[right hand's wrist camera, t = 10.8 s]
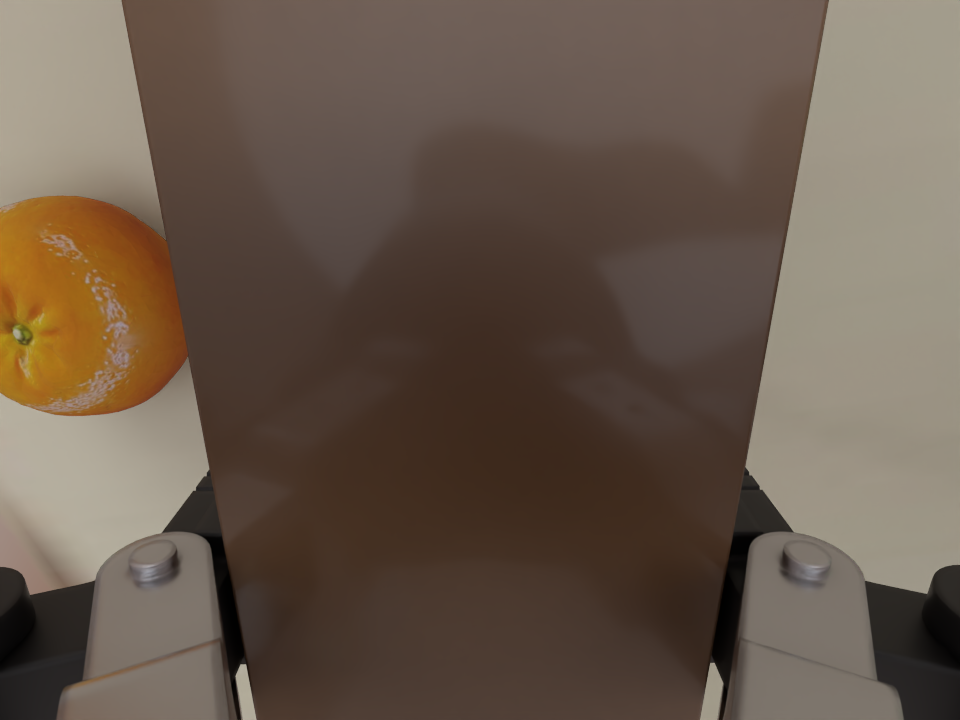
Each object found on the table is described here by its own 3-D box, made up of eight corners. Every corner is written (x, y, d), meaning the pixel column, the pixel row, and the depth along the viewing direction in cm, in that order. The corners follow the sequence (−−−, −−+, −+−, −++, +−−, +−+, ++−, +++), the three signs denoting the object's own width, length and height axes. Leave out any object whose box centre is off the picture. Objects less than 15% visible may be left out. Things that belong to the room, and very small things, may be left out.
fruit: (-99, 173, 23) (-146, 325, 18) (157, 144, 25) (174, 270, 21) (12, 334, 29) (-2, 477, 24) (207, 297, 32) (229, 420, 27)
